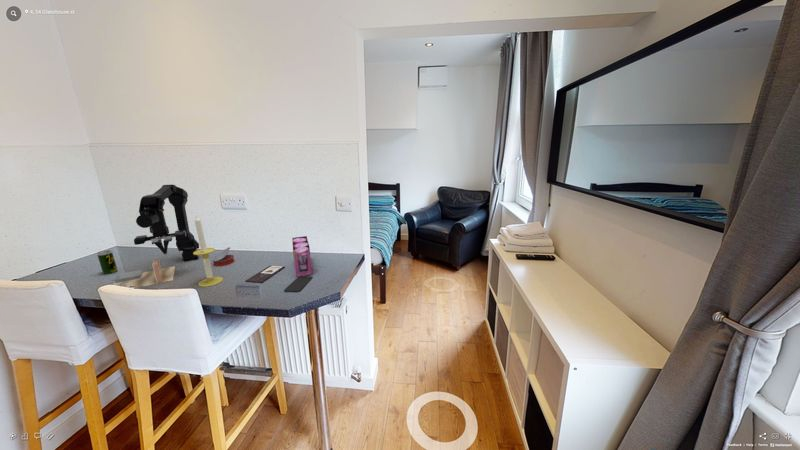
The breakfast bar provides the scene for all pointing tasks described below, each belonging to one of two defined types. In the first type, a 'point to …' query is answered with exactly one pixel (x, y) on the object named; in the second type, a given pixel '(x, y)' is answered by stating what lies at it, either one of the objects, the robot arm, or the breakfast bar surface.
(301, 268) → the gum box
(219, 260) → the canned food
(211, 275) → the candle
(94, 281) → the breakfast bar surface
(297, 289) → the phone
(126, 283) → the oak board
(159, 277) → the terracotta tile
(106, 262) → the guarana soda can
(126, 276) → the slate tile
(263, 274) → the chocolate bar
